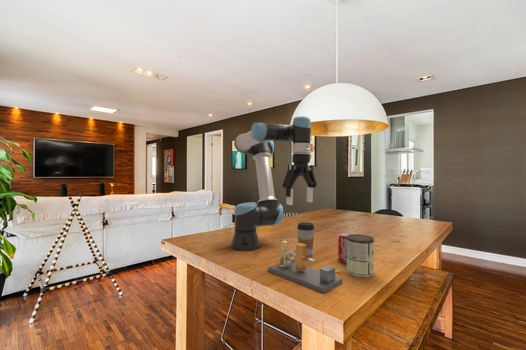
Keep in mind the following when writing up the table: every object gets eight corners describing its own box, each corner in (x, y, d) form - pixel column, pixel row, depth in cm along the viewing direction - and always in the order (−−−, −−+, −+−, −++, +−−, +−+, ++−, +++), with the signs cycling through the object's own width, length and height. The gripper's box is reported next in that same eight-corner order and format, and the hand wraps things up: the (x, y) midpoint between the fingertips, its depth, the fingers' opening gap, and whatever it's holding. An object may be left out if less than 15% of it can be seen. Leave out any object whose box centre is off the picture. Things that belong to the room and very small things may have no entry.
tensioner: (319, 281, 88) (319, 268, 88) (327, 277, 91) (327, 265, 91) (327, 284, 86) (327, 271, 86) (334, 280, 89) (335, 267, 89)
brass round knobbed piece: (275, 265, 103) (275, 241, 103) (283, 262, 107) (283, 239, 107) (290, 271, 97) (291, 245, 97) (298, 267, 101) (299, 243, 101)
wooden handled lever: (283, 266, 99) (283, 242, 99) (292, 263, 103) (292, 240, 103) (310, 276, 90) (311, 249, 90) (319, 272, 94) (319, 246, 94)
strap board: (268, 270, 101) (268, 267, 101) (287, 263, 109) (287, 260, 109) (324, 293, 82) (324, 288, 82) (342, 282, 91) (342, 278, 91)
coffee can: (345, 266, 107) (345, 233, 107) (370, 268, 104) (371, 234, 104) (347, 276, 97) (347, 239, 97) (376, 278, 94) (376, 241, 94)
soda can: (357, 263, 110) (357, 236, 110) (342, 264, 109) (342, 236, 109) (349, 258, 117) (349, 232, 117) (335, 258, 116) (335, 233, 116)
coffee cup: (314, 258, 117) (314, 226, 117) (296, 256, 119) (296, 225, 119) (314, 252, 125) (314, 222, 125) (297, 251, 127) (297, 221, 127)
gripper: (288, 151, 96) (287, 207, 96) (325, 154, 112) (324, 201, 113) (274, 152, 101) (273, 204, 102) (311, 155, 118) (310, 200, 119)
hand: (300, 203), depth 107 cm, fingers open, 13 cm apart
